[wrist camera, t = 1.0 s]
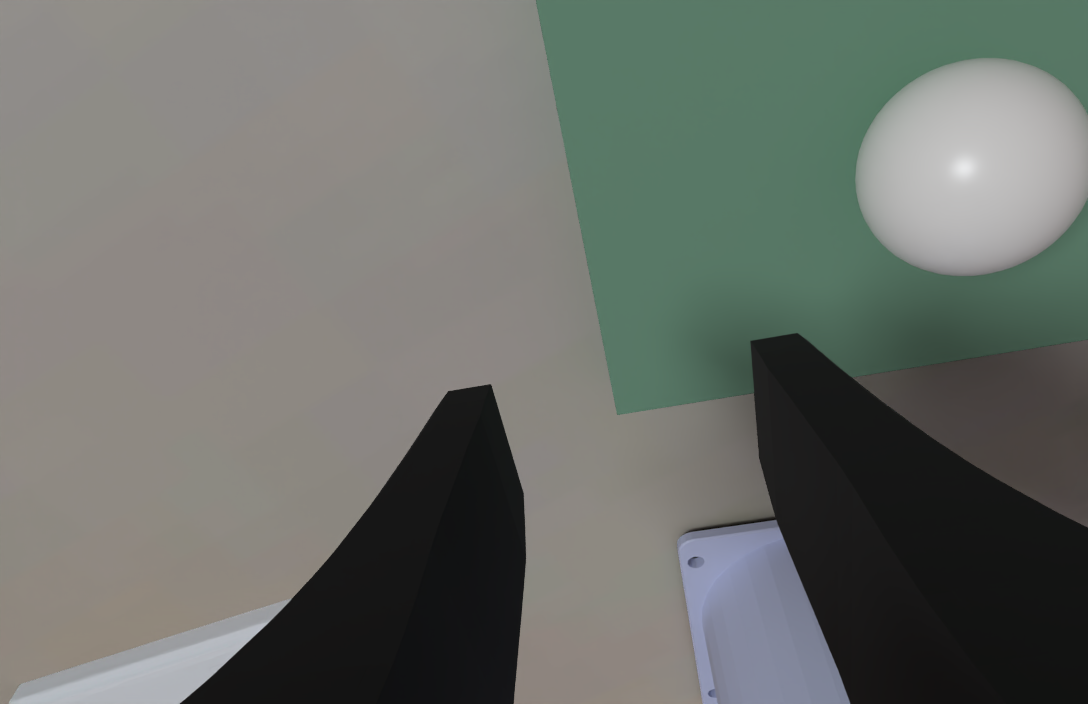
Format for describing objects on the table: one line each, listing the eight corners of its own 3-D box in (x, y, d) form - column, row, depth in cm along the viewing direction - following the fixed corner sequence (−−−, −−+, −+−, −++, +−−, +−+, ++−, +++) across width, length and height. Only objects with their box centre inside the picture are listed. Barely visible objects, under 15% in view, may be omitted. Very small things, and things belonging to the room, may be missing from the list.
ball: (1014, 205, 18) (1125, 293, 14) (830, 239, 18) (895, 331, 15) (1038, 16, 15) (1174, 67, 12) (828, 59, 16) (903, 119, 13)
